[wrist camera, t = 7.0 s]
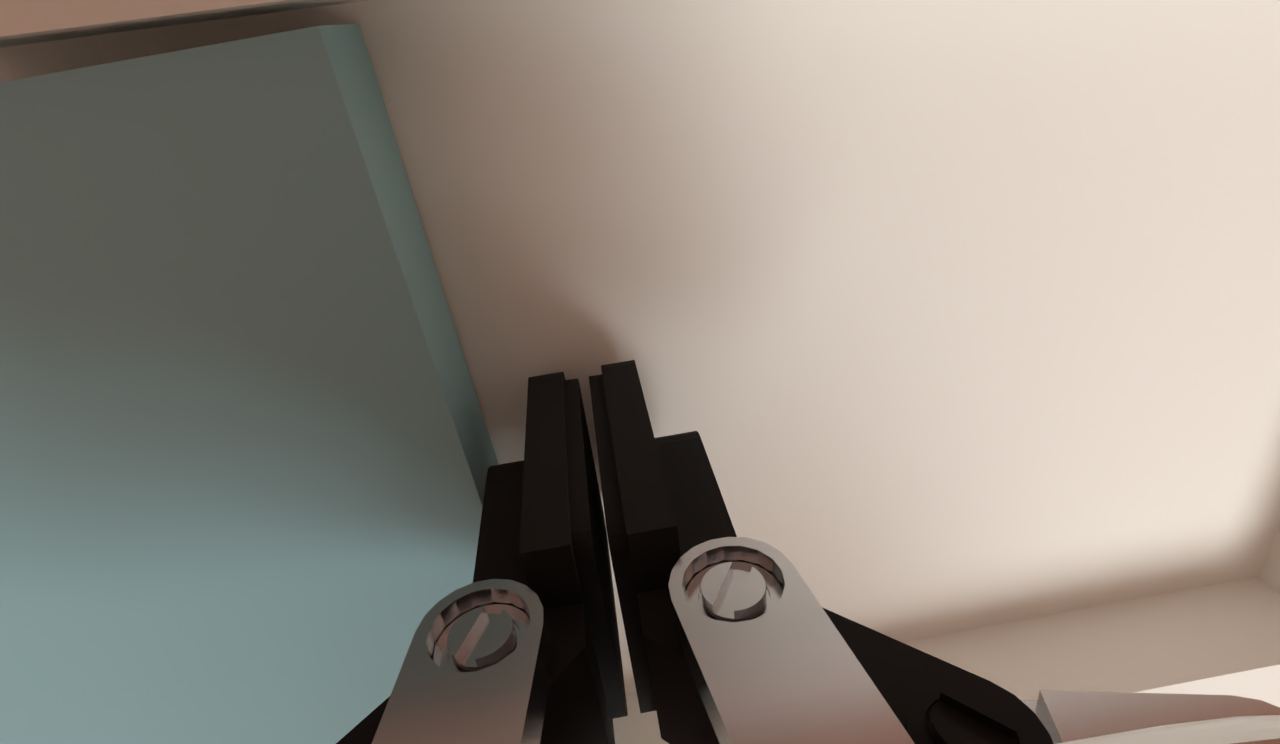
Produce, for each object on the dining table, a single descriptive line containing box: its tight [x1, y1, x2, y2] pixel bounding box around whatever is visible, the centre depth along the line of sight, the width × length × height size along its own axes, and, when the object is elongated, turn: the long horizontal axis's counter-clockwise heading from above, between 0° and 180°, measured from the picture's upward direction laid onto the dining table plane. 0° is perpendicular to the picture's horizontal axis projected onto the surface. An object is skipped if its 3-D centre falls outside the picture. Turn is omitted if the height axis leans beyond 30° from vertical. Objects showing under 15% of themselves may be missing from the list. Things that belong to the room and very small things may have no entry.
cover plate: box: [0, 24, 498, 744], centre depth 10 cm, size 12×11×2 cm
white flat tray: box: [0, 0, 1280, 744], centre depth 11 cm, size 16×22×3 cm
